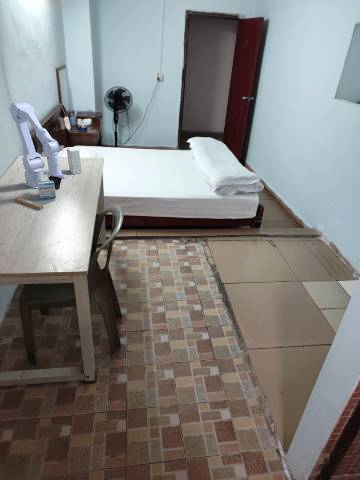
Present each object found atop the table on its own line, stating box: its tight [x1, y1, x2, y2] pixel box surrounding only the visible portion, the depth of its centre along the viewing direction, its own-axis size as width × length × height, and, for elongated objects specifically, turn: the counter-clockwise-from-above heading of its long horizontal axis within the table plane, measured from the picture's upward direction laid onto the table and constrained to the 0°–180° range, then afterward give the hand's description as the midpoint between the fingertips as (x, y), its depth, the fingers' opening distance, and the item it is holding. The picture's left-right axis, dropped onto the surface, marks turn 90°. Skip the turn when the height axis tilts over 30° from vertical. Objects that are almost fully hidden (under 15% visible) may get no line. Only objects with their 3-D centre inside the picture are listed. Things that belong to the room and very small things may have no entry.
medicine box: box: [37, 180, 57, 200], centre depth 173 cm, size 8×4×9 cm, turn 117°
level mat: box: [14, 194, 56, 211], centre depth 170 cm, size 18×13×2 cm
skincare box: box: [66, 147, 83, 175], centre depth 208 cm, size 8×6×15 cm
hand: (57, 189), depth 179 cm, fingers closed
